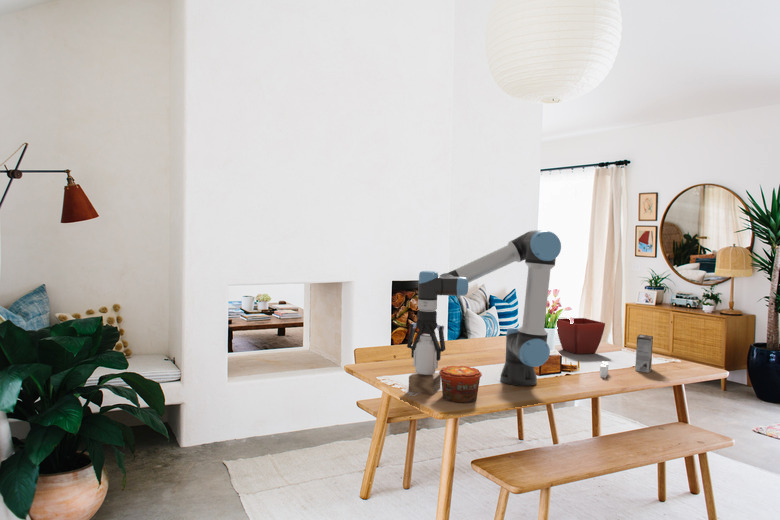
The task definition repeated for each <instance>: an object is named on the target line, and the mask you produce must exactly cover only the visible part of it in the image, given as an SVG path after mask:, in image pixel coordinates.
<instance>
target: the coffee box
mask: <svg viewBox="0 0 780 520" xmlns="http://www.w3.org/2000/svg"><path fill="white" fill-rule="evenodd" d="M653 339H654V336H653V335H647V334H638V335H637V337H636V349H635V350H636V351H635V352H636V353H635V364H634V365H635V367H634V368H635V372H641V373H642V372H644V373H650V371H651V370H652V367H653V366H652V365H653V363H652V362H653V342H654V341H653Z"/></svg>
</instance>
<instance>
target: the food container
mask: <svg viewBox="0 0 780 520" xmlns="http://www.w3.org/2000/svg"><path fill="white" fill-rule="evenodd" d="M438 373H440V374H441V391H442V392H441V393H442V398H443V399H444V401H448V402H452V403H459V404H461V403H462V404H464V403H472V402H475V401H477V399H478V394H479V386H480V379H481V377H482V375H483V374H482V372H481V371H480V370H479V369H478V368H475V367H470V366H465V365H459V366H456V365H448V366H446V367H442V368H441V369H440V370H439V371H438Z"/></svg>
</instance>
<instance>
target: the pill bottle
mask: <svg viewBox="0 0 780 520" xmlns="http://www.w3.org/2000/svg"><path fill="white" fill-rule="evenodd" d="M435 352H436V349H435V346H434V344H433V341H432V337H431V336H430V334H426V333H425V334H422V335H420V340H419V342H418V343H417V345H416V366H415V367H414V368H415V370H414V372H416V373H418V374H423V375H431V374H434V373H436V369H434V353H435Z"/></svg>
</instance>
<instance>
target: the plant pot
mask: <svg viewBox="0 0 780 520" xmlns="http://www.w3.org/2000/svg"><path fill="white" fill-rule="evenodd" d="M557 319H558V321H557V327H558V329H557V327H556V331H557V335H558V339H559V342H560V345H561V348H562V350H563V351H567V352H569V353H573V354H575V355H576V354H577V355H581V354H595V353H596V352H597V350H598V348H599V346H600V343H601V341H602V337H603V335H604V331H605V327H606V323H605V322H601V321H598V320H594V319H590V318H585V317H576V318H575V317H574V318H573V319H574V323H573V324H570V320H569V319H567V318H557Z"/></svg>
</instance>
